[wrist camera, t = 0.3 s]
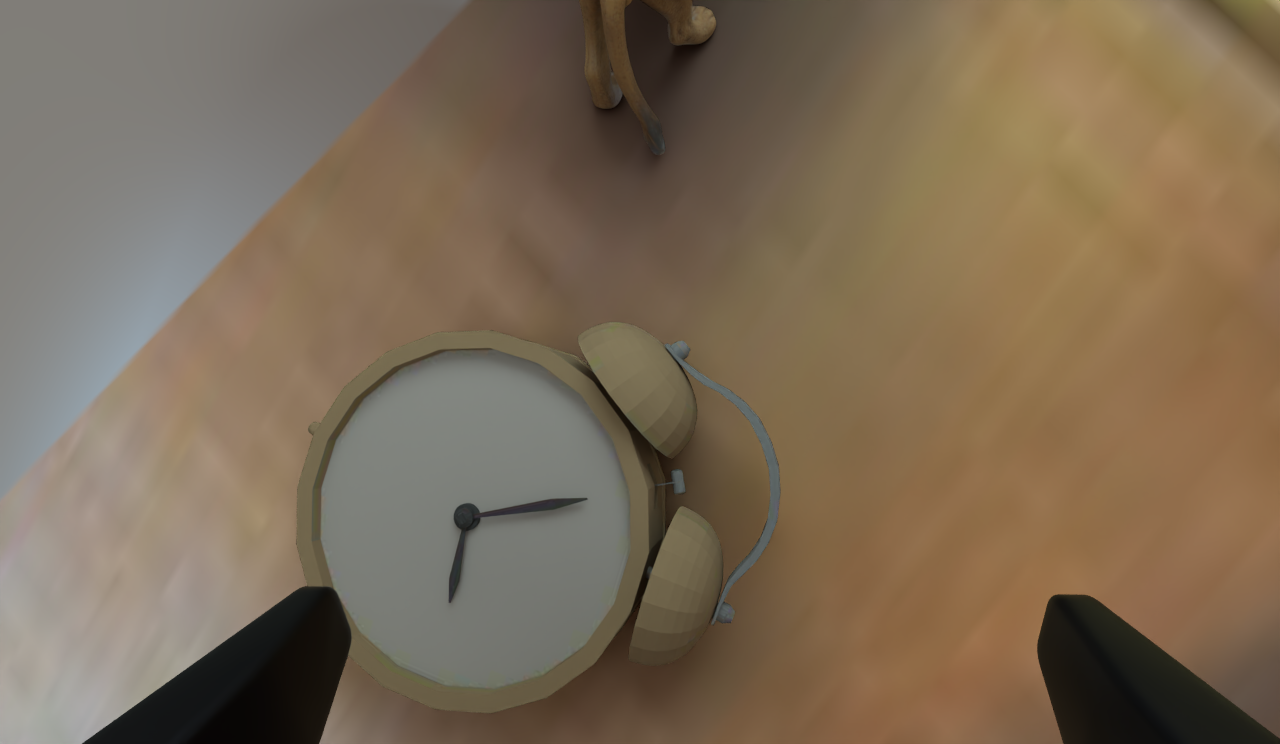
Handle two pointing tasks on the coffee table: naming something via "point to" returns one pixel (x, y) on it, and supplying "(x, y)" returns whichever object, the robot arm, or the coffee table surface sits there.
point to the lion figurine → (608, 40)
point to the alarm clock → (513, 513)
